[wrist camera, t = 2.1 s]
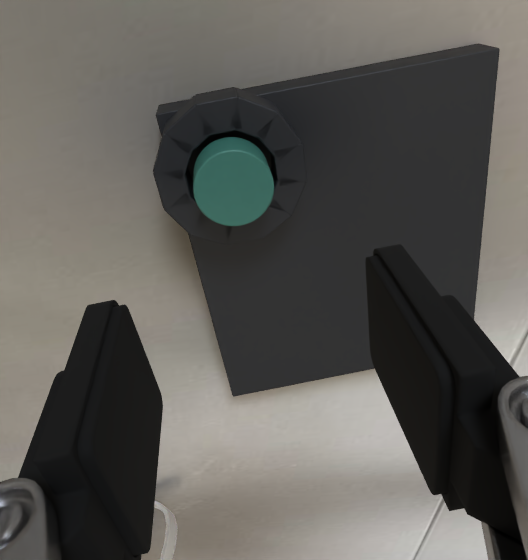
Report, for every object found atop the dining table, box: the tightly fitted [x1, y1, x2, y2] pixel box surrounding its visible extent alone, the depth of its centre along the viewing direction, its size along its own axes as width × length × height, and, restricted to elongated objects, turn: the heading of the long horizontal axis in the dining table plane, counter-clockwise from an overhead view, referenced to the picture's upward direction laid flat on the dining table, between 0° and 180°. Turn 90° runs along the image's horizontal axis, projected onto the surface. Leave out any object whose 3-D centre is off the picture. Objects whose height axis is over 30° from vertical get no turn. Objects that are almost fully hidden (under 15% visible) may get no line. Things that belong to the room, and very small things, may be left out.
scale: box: [153, 44, 499, 396], centre depth 23 cm, size 16×14×4 cm
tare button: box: [193, 137, 274, 226], centre depth 19 cm, size 3×3×2 cm
